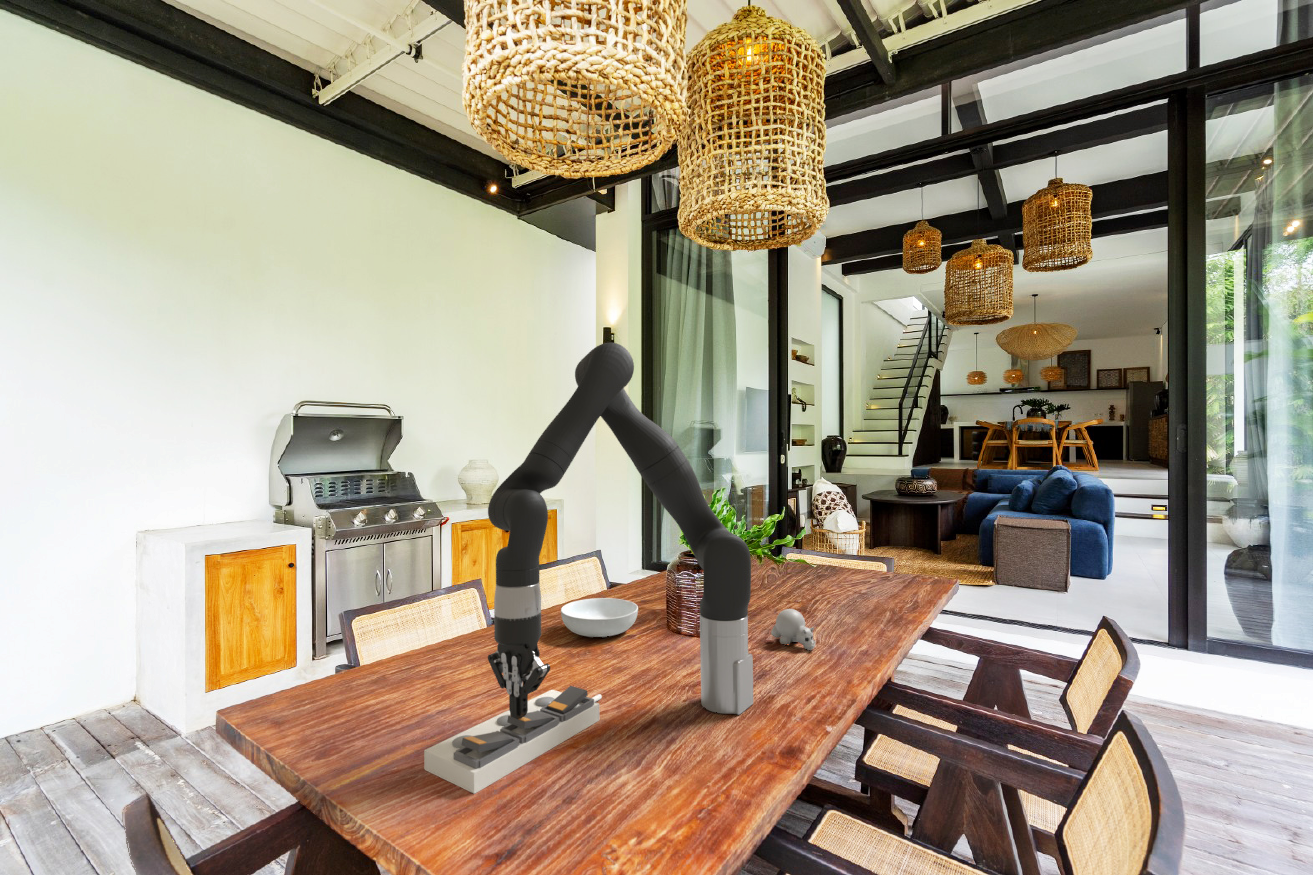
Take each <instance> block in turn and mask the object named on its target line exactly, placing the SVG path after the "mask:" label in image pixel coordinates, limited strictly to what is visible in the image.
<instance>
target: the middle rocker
mask: <svg viewBox="0 0 1313 875" xmlns="http://www.w3.org/2000/svg"><path fill="white" fill-rule="evenodd" d="M552 719H553V717H551V716H548V715H545V714H542V713H539V712H529V713H526V715H525V716H524V717H522V718H520V719H515V718H513V717H511V716H508V721H507V722H508V723H510V724H513V725H516V726H519V727H521V728H530V727H535V726H540V725H545V724H547V723H548V722H550V721H552Z"/></svg>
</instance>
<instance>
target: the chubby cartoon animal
mask: <svg viewBox="0 0 1313 875" xmlns="http://www.w3.org/2000/svg"><path fill="white" fill-rule="evenodd" d="M814 630H815V627H814V626H813V627H810V628H809V627H807V626H806V621H805V618H804V616H803V614H802V613H801V612H800V611H798V610H796V609H794V608H786V609H783V610H781V611H780V612H779V613H778V615H777V616H776V620H775V625H774V626H773V628H772V629H771V632H770V633H771V636H772V637H774V638H776V639H777V638H778V639H779V642H780V645H782V644H789V645H790V644H791V643H792V642H798V643H799V644H800V645H801V644H802V646H803V648H804V649H805V650H806V649H807V651H809V650H810V651H812V649H813V650H814V649H815V647H816V640H815V639H814Z"/></svg>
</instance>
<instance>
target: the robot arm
mask: <svg viewBox="0 0 1313 875" xmlns="http://www.w3.org/2000/svg"><path fill="white" fill-rule="evenodd" d="M634 369H635V363H634V358H633V357H632V355H631V353H630V352H629V350H628V349H627V348H626V347H625V346H623V345H621V344H620V343H616V342H604V343H601V344H599V345H596V346H595V347H594V348H593V349H592V350H590V351H589V352H588V353H587V354H585V356H584V357H583V358H581V359H580V361H579V362H578V363H577V365H576V367H575V371H574V378H575V382H576V385H577V388H575V391H574V392H573V394H572V395H571V396H570V397H569V400H568V401H566V403H565V404H564V406H563V407H562V408H561V409H560V411H559V412H558V413H557V414H556V415H555V417H554V418H553V419H552V420H551V422H550V423H549V424H548V426H547V427H546V428H545V429H544V431H543V432H542V433H541V435H540V436H539V437H538V439H537V440H536V442H535V444H534V445H533V447H532V448H531V449H530V451H529V453H528V454H527V456H526V458H525V460H524V461H523V462H522V463H521V464H520V465H519V466H518V467H517V468H515V470H513V471H512V473H510V474H509V476H507V478H506V479H505V480H504V481H503V482H502V483H501V484H500V485H499V486H498V487H497V489H496V490H495V491H494V493H493V495H492V496H491V498H490V500H489V504H488V507H487V516H488V519H489V521H490V523H491V524H492V525H493V526H494V527H495V528H497V529H499V530H501V531H508V532H509V536H508V541H507V546H504V547H502V548H500V549H499V550H498V551H497V553H496V557H495V590H494V601H493V602H494V608H493V609H494V610H493V613H494V615H493V618H494V619H493V620H494V622H493V623H494V625H493V626H494V628H493V629H494V630H493V631H494V632H493V633H494V634H493V635H494V641H495V642H496V643H497V646H496V647H497V650H495V651H494V652H493V653H490V654H488V656H487V661H488V663H489V666H490V667H491V669H492V671H493V674H494V676H495V678H496V681H497V683H498V685H499V688H501V689H506V692H507V694H508V695H509V696H508V699H509V707H508V709H509V710H510V716H511V717H513V718H515V719H520V718H522V717H524V716H525V715H526V713H527V711H528V705H527V704H528V701H529V700H528V699H529V698H528V697H529V694H531V693H533V692H535V691H537V690H538V689H539V687H540V686H541V684H542V683H543V681H545V679H546V677H547V676H548V673H549V672H550V670H551V665H550V663H548V662H547V663H544V662H542V660H541V658H540V655H541V654H540V653H541V652H540V649H539V646H538V642H539V640H540V639H541V636H542V594H541V592H542V591H541V585H540V555H541V551H542V548H543V544H544V539H545V537H546V530H547V527H548V520H549V519H548V518H549V512H548V511H549V510H548V506H547V503H546V501H545V499H544V497H543V495H541V494H542V493H543V492H544V491H547V490H549V489H553V488H555V487H556V486H558V484H559V483H560V482H561V480H562V479H563V477H564V475H565V474H566V472H567V470H569V467H570V466H571V464H572V463H573V461H574V459H575V457H576V455H577V454H578V453H579V450H580V449H581V447H582V446H583V443H584V442H585V441H586V438H587V437H588V435H589V434H590V432H591V430H592V429H593V428H594V426H595V424H596V423H597V421H598V420H599V419H600V417H601V419H602V420H603V421H604V423H605V424H606V425H607V426H608V428H609V429H610V430H611V431H612V433H613V435H614V436H615V438H616V439H617V441H618V442H619V444H620V445H621V447H622V449H623V450H624V452H625V453H626V454H627V456H628V457H629V458H630V460H631V463H633V465H634V467H635V469H636V470H637V471H638V473H639V475H640V476H641V478H642V479H643V481H644V482H645V484H646V485H647V487H648V488H649V489H650V491H651V493H652V494H654V496H655V497H656V499H657V500H658V502H659V503H660V504H661V506H662V507H663V508H664V509H665V510H666V511H667V513H668V514H669V516H671V517H672V519H673V521H675V523H676V524H677V526H678V528H679V529H680V531H681V532H682V534H683V536H684V538H685V540H686V541H687V543H688V545H689V547H690V549H691V552H692V553H693V555H694V557H695V560H696V561H697V564H698V565H699V567H700V568H701V569H702V570H703V572H702V573H703V575H702V576H703V586H702V587H703V591H702V593H703V594H702V598H701V599H700V601H699V639H700V641H699V642H700V643H699V645H700V646H699V648H700V656H699V657H700V700H701V702H700V703H701V705H702V707H703V708H704V707H705V708H706V710H707V711H710V712H713V713H716V712H717V714H723V715H725V714H730V715H731V714H734V715H742V713H744V711H746V710H747V709H749V708H750V707H751V706H752V705H753V704H754V674H753V673H754V672H753V671H754V668H753V667H754V665H753V658H754V657H753V654H752V653H749V627H748V626H749V624H748V623H749V622H748V617H749V615H748V614H749V611H748V610H749V605H750V601H751V595H752V594H751V590H752V589H751V588H752V562H751V559H752V558H751V553H750V549H749V547H748V544H747V543H746V542H745V541H744V540H743V538H742V537H739V536H738V535H736V534H734V533H732V532H730V531H729V530H728V528H726V526H725V524H723V523H722V521H721V520H720V519H719V518H718V516H717V515H716V514H715V513H714V511H713V509H712V508H711V507H710V505H709V503H708V502H707V500H706V498H705V495H704V494H703V491H702V488H701V485H700V483H699V482H700V481H699V480H698V478H697V475H696V473H695V471H694V469H693V466H692V465H691V464H690V461H689V460H688V458H687V457H686V456H685V453H684V452H683V451H682V449H681V448H680V446H679V444H678V443H677V442H676V440H675V439H674V438H673V437H672V436H671V435H670V434H669V433H668V432H667V431H665V430H664V429H663V428H662V427H661V426H659V424H657V423H655V422H654V421H653V420H651V419H649V418H648V417H646V415H644V413H642V412H641V411H640V410H639V409H638V408H637V407H636V405H635V403H634V402H633V401H632V399H631V398H630V396H629V394H628V393H627V391H626V390H625V387H627V385H628V384H629V383H630V381H631V380H632V377H633V375H634V371H635V370H634ZM705 708H704V709H705Z"/></svg>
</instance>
